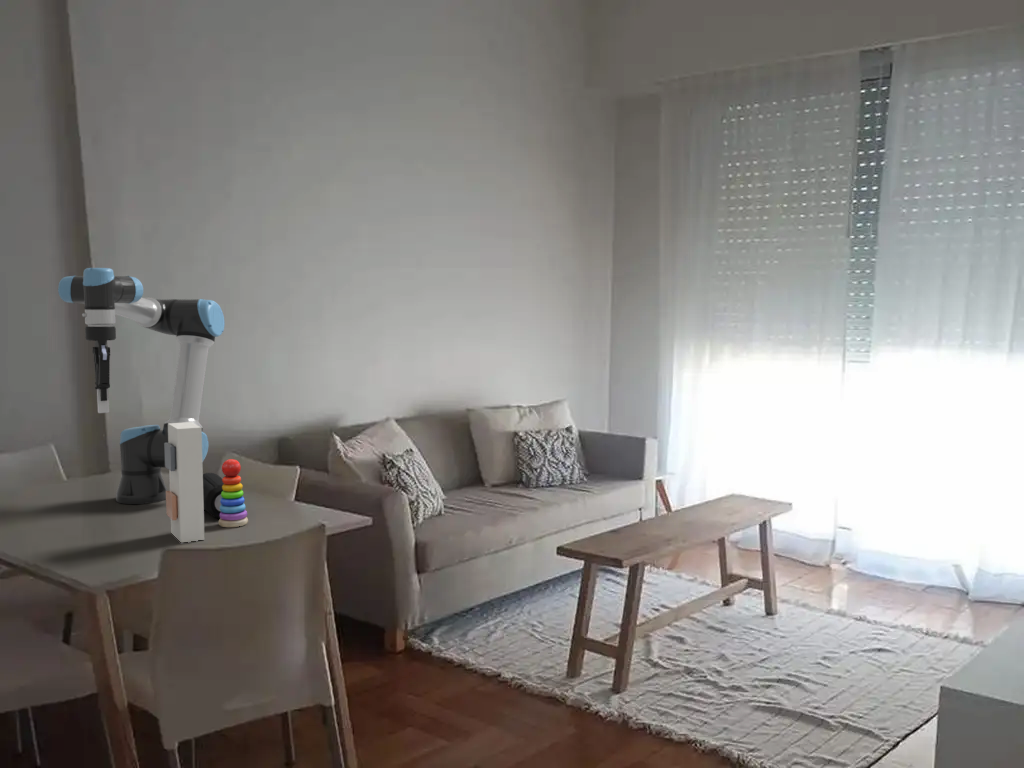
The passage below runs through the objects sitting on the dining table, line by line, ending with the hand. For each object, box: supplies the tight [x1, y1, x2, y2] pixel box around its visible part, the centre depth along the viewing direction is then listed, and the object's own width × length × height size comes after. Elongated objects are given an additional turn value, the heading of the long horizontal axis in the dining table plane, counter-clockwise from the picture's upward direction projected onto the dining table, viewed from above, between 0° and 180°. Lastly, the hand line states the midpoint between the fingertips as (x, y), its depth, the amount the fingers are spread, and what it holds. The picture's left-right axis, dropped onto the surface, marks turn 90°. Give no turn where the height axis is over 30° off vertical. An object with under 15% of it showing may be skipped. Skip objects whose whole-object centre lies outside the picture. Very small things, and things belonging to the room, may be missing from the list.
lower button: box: [165, 490, 178, 520], centre depth 245 cm, size 8×7×6 cm
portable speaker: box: [203, 472, 224, 519], centre depth 276 cm, size 26×10×10 cm, turn 30°
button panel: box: [168, 422, 205, 543], centre depth 245 cm, size 12×6×30 cm, turn 32°
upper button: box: [164, 443, 177, 471], centre depth 244 cm, size 8×7×6 cm
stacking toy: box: [218, 458, 249, 528], centre depth 259 cm, size 8×8×19 cm
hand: (103, 412), depth 251 cm, fingers closed
